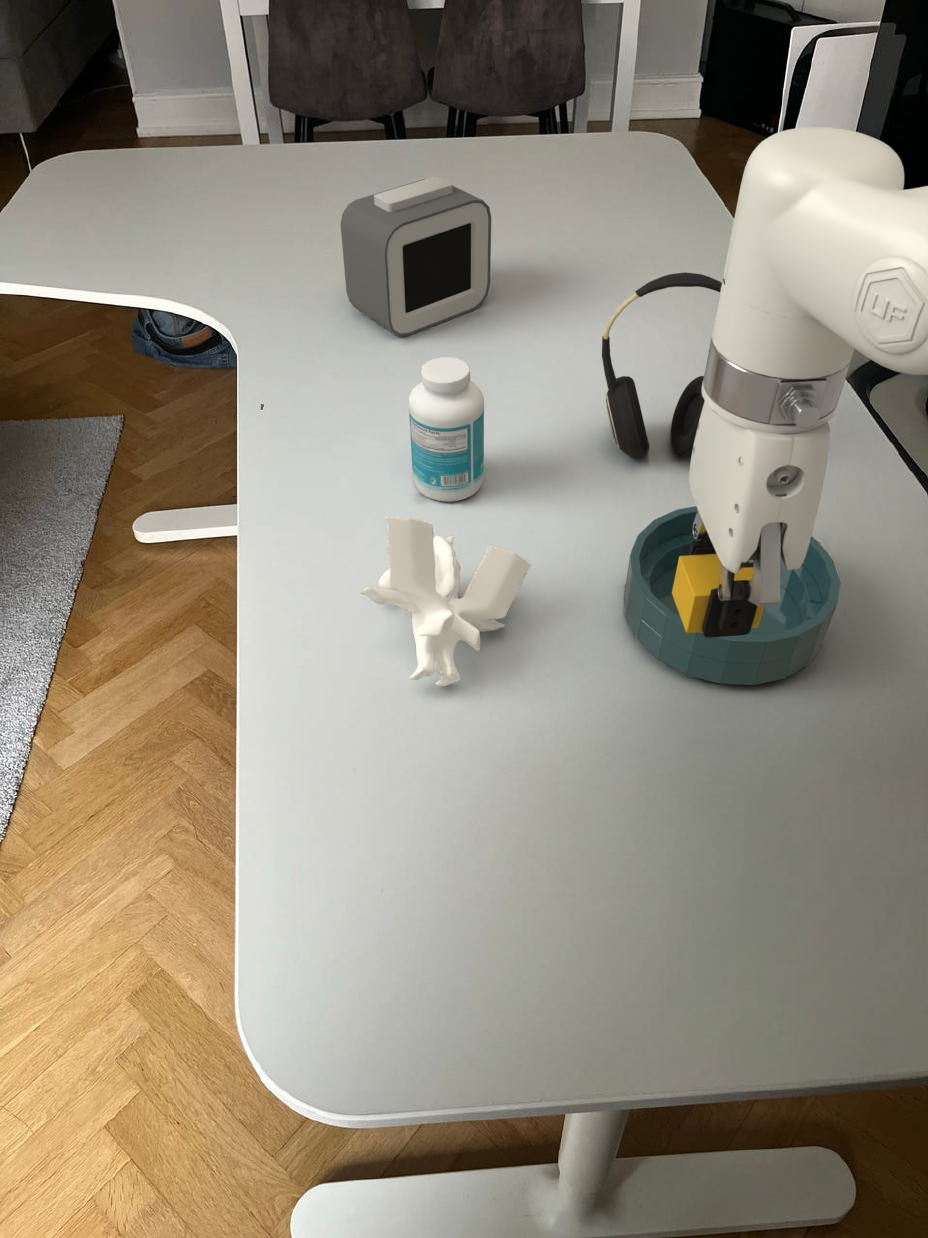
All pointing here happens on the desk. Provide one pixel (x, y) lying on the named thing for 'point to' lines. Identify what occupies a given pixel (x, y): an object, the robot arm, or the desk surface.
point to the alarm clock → (417, 254)
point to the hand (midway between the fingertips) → (715, 606)
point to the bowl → (743, 659)
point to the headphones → (623, 390)
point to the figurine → (444, 593)
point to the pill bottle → (447, 431)
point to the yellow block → (701, 588)
